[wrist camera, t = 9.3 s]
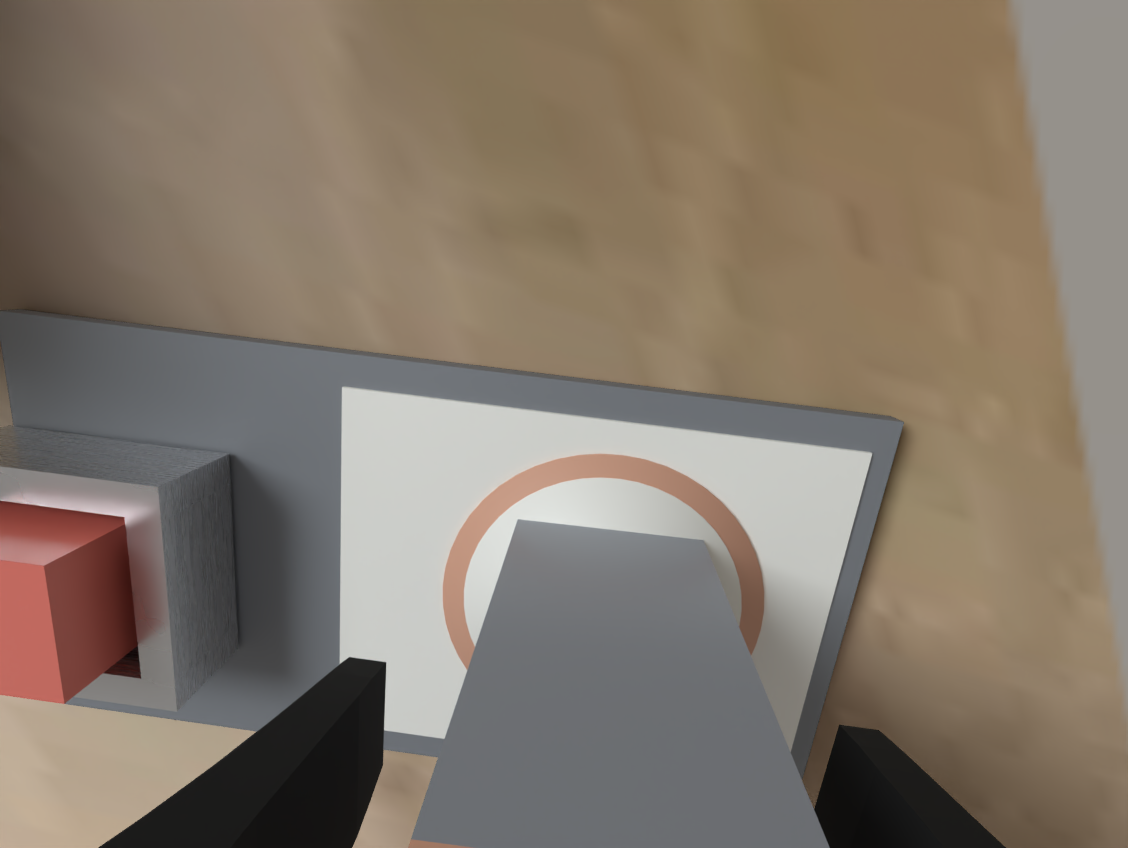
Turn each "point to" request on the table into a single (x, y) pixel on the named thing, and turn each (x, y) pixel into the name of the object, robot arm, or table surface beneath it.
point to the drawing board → (460, 501)
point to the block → (613, 709)
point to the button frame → (146, 549)
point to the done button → (61, 600)
